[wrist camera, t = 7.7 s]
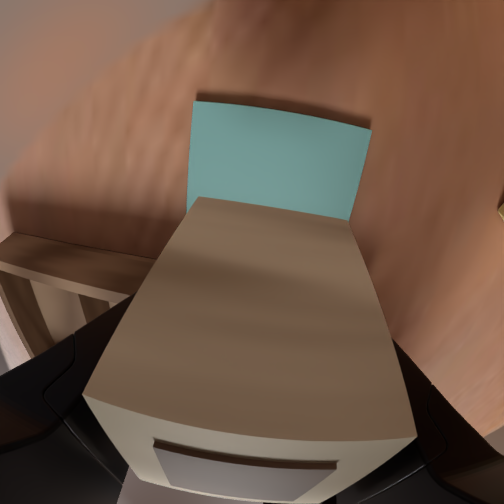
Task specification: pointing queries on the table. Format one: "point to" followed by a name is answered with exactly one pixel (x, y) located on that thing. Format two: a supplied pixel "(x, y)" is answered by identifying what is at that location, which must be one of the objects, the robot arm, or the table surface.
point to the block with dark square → (254, 361)
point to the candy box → (501, 211)
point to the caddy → (62, 286)
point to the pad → (275, 159)
